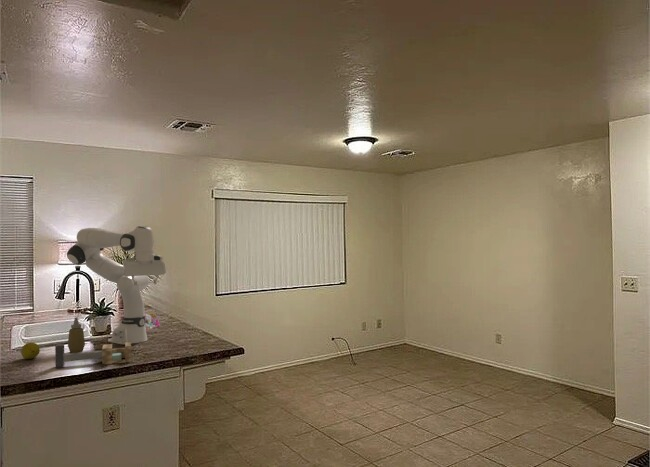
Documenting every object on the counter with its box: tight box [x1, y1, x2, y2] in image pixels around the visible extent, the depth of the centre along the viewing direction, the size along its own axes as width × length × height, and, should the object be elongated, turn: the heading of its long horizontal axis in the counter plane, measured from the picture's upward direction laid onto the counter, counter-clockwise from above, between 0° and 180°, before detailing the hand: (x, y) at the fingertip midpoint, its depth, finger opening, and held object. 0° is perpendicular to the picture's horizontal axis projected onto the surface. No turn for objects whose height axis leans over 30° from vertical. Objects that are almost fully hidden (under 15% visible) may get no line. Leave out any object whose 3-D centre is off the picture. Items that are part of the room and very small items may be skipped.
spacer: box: [112, 353, 123, 361], centre depth 227 cm, size 4×5×4 cm
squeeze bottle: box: [67, 316, 86, 354], centre depth 246 cm, size 8×8×18 cm
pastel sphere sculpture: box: [144, 312, 161, 331], centre depth 311 cm, size 25×24×9 cm
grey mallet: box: [54, 343, 102, 369], centre depth 221 cm, size 22×5×10 cm, turn 113°
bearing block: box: [101, 342, 132, 365], centre depth 227 cm, size 12×9×8 cm
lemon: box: [20, 342, 40, 360], centre depth 233 cm, size 11×8×8 cm
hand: (145, 284), depth 242 cm, fingers open, 8 cm apart
